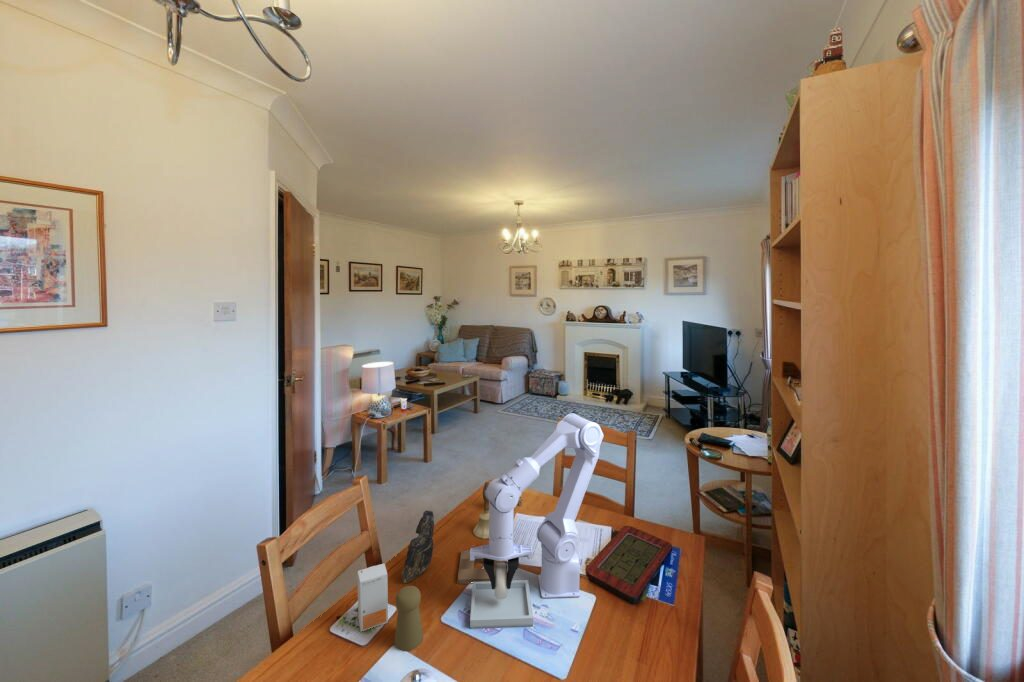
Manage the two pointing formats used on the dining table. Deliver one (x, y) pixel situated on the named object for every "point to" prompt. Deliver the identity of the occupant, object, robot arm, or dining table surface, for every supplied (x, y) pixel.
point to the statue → (420, 549)
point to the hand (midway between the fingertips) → (501, 586)
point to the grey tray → (501, 606)
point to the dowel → (500, 580)
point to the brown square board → (472, 569)
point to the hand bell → (483, 519)
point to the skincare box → (372, 597)
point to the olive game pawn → (408, 619)
